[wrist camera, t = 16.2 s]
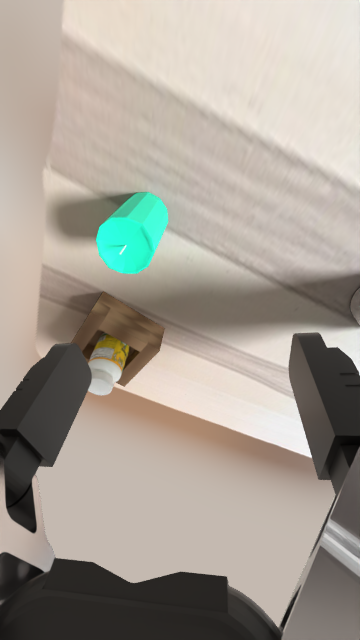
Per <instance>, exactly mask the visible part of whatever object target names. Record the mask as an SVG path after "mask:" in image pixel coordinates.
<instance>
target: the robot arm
mask: <svg viewBox="0 0 360 640" xmlns="http://www.w3.org/2000/svg"><path fill="white" fill-rule="evenodd" d="M350 309H351V313H352V314H353V316H354V317H355V319H356V320H357V322H358V323H359V324H360V288H359V289H358V290H357V291H356V292H355V294H354V296H353V297H352V300H351V304H350ZM289 377H290V382H291V386H292V389H293V393H294V396H295V400H296V403H297V407H298V410H299V413H300V417H301V420H302V424H303V427H304V431H305V434H306V438H307V441H308V445H309V448H310V452H311V455H312V458H313V462H314V465H315V469H316V472H317V476H318V479H320V480H331V482H332V485H333V488H334V491H335V494H336V495H335V497H334V499H333V501H332V504H331V506H330V508H329V511H328V513H327V516H326V518H325V520H324V523H323V525H322V527H321V530H320V532H319V534H318V537H317V539H316V542H315V544H314V546H313V549H312V551H311V553H310V556H309V558H308V560H307V563H306V565H305V567H304V569H303V571H302V574H301V576H300V578H299V581H298V583H297V585H296V587H295V589H294V592H293V594H292V597H291V599H290V601H289V604H288V606H287V609H286V611H285V613H284V616H283V618H282V621H281V622H280V625H279V627H277V626H276V625H275V623H274V622H273V621H272V620H271V619H270V617H269V616H268V615H267V614H266V613H265V612H264V611H263V610H262V609H261V608H260V607H259V606H258V605H257V604H256V603H255V602H254V601H252V600H251V599H250V598H249V597H247V596H246V595H244V594H243V593H241V592H240V591H238V590H236V589H234V588H232V587H230V586H229V585H228V580H227V577H225V576H216V575H206V574H197V573H188V572H178V573H174V574H170V575H166V576H162V577H158V578H154V579H150V580H146V581H143V582H138V583H130V582H128V581H126V580H124V579H122V578H121V577H119V576H117V575H115V574H113V573H111V572H110V571H108V570H106V569H104V568H103V567H101V566H99V565H97V564H95V563H93V562H85V561H77V560H67V559H58V558H56V557H55V554H54V551H53V549H52V547H51V546H50V544H49V542H48V540H47V537H46V534H45V529H44V521H43V514H42V507H41V500H40V492H39V485H38V479H37V476H36V475H35V473H36V471H37V469H38V467H39V466H44V467H46V466H47V467H52V466H53V465H54V462H55V460H56V458H57V456H58V454H59V451H60V449H61V447H62V445H63V443H64V441H65V439H66V437H67V434H68V432H69V430H70V428H71V426H72V423H73V421H74V419H75V417H76V415H77V413H78V410H79V408H80V406H81V404H82V402H83V400H84V398H85V395H86V393H87V391H88V389H89V387H90V384H91V380H92V373H91V369H90V367H89V365H88V363H87V361H86V359H85V357H84V355H83V353H82V351H81V349H80V348H79V346H78V345H77V344H76V343H65V344H55V345H54V346H53V347H52V348H51V349H50V351H49V352H48V354H47V355H46V356H45V358H42V359H41V360H40V361H39V362H37V363H36V364H35V365H34V366H33V367H32V368H31V369H30V370H29V371H28V373H27V374H26V376H25V377H24V378H23V381H21V382H20V384H19V385H18V387H17V388H16V391H14V392H13V393H12V395H11V396H10V398H9V399H8V401H7V402H6V403H5V405H4V406H3V407H2V409H1V410H0V640H360V376H359V372H358V370H357V368H356V366H355V365H354V363H353V361H352V359H351V358H350V357H348V356H347V355H346V354H345V353H344V352H342V351H341V350H340V349H339V348H338V347H337V348H327V347H326V345H325V343H324V341H323V339H322V337H321V335H320V334H319V333H296V334H294V335H293V338H292V345H291V353H290V360H289Z"/></svg>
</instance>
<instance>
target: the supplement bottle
mask: <svg viewBox="0 0 360 640" xmlns="http://www.w3.org/2000/svg"><path fill="white" fill-rule="evenodd" d="M129 348H130V346H129V345H127V344H125V343H123V342H121V341H120V340H118V339H116V338H114V337H112V336H111V335H109V334H107V333H105V332H104V333H103V334H102V335H101V336H100V338H99V340H98V342H97V344H96V346H95V349H94V351H93V353H92V355H91V357H90V360H89V362H88V365H89V367H90V369H91V373H92V380H91V384H90V387H89V389H88V391H90V392H91V393H93V394H96V395H107V394H109V393H110V392H111V390H112V388H113V386H114V383H116V382H117V381H118V380H119V379H120V377H121V374H122V371H123V368H124V365H125V361H126V358H127V355H128V352H129Z"/></svg>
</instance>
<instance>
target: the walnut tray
mask: <svg viewBox="0 0 360 640" xmlns="http://www.w3.org/2000/svg"><path fill="white" fill-rule="evenodd" d="M164 329H165V328H163V327H161V326H160V325H158V324H156V323H155V322H153V321H151V320H150V319H148V318H146V317H145V316H143V315H142V314H140V313H138V312H137V311H135V310H133V309H132V308H130V307H128V306H127V305H125V304H123V303H122V302H120V301H118V300H117V299H115V298H114V297H112V296H110V295H109V294H107V293H105V292H104V291H103V293H102V294H101V296H100V298H99V299H98V301H97V302H96V304H95V306H94V307H93V309H92V310H91V312H90V313H89V315H88V317H87V318H86V320H85V321H84V323H83V325H82V326H81V328H80V329H79V331H78V333H77V334H76V336H75V337H74V339H73V340H72V342H71V343H76V344H77V345H78V346H79V348H80V349H81V351H82V353H83V355H84V357H85V359H86V361H87V363H88V362H89V360H90V357H91V355H92V353H93V351H94V349H95V346H96V344H97V342H98V340H99V338H100V336H101V335H102V334H103V333H104V332H105V333H107V334H109V335H111V336H112V337H114V338H116V339H118V340H120V341H121V342H123V343H125V344H127V345H129V346H130V348H129V352H128V355H127V358H126V361H125V365H124V368H123V371H122V374H121V377H120V379H119V380H118V381H117V382H116V383H118V384H120V385H122V386H125V385H126V384H127V383H128V382H129V381H130V380H131V379H132V378H133V377H134V376H135V375H136V374H137V373H138V372H139V371H140V370H141V369H142V368H143V367H144V366H145V365H146V364H147V363H148V362H149V361H150V360H151V359H152V358H153V357H154V356H155V355H156V354H157V353H158V352H159V351H160V346H161V342H162V338H163V333H164Z"/></svg>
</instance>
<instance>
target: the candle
mask: <svg viewBox="0 0 360 640" xmlns="http://www.w3.org/2000/svg"><path fill="white" fill-rule="evenodd" d="M167 223H168V214H167V208H166V207H165V205H164V204H163V202H162V201H161V199H160V198H159V197H157V196H155V195H153V194H151V193H149V192H141V193H136V194H134V195H133V196H132V197H130V198H129V199H128V200H127V201H126V202H125V203H124V204H123V205H121V206H120V207H119V208H118V209H117V210H116V211H115V212H114V213H113V214H112V215H111V216H110V217H109V218H108V219H107V220H106V221H105V222H104V223H103V224H102V225H100V226H99V230H98V234H97V238H96V242H97V246H98V251H99V255H100V256H101V258H102V259H103V261H104V262H105V263H106V265H107V266H108V267H109V268H111V269H113V270H115V271H118V272H120V273H124V274H137V273H139V272H140V271H142V270H143V269H145V268H146V267H148V266H149V264H150V262H151V259H152V257H153V255H154V253H155V250H156V248H157V246H158V244H159V241H160V239H161V237H162V235H163V232H164V230H165V228H166V225H167Z"/></svg>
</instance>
